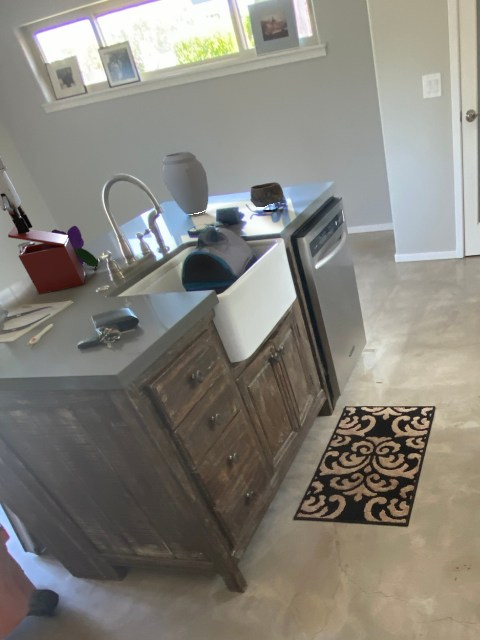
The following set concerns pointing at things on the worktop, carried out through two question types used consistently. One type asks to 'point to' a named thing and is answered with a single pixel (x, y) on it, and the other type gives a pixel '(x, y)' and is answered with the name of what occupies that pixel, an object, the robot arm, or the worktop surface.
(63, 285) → the red hollow box
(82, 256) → the flower
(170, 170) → the vase
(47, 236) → the lid
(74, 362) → the worktop surface
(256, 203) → the bowl
